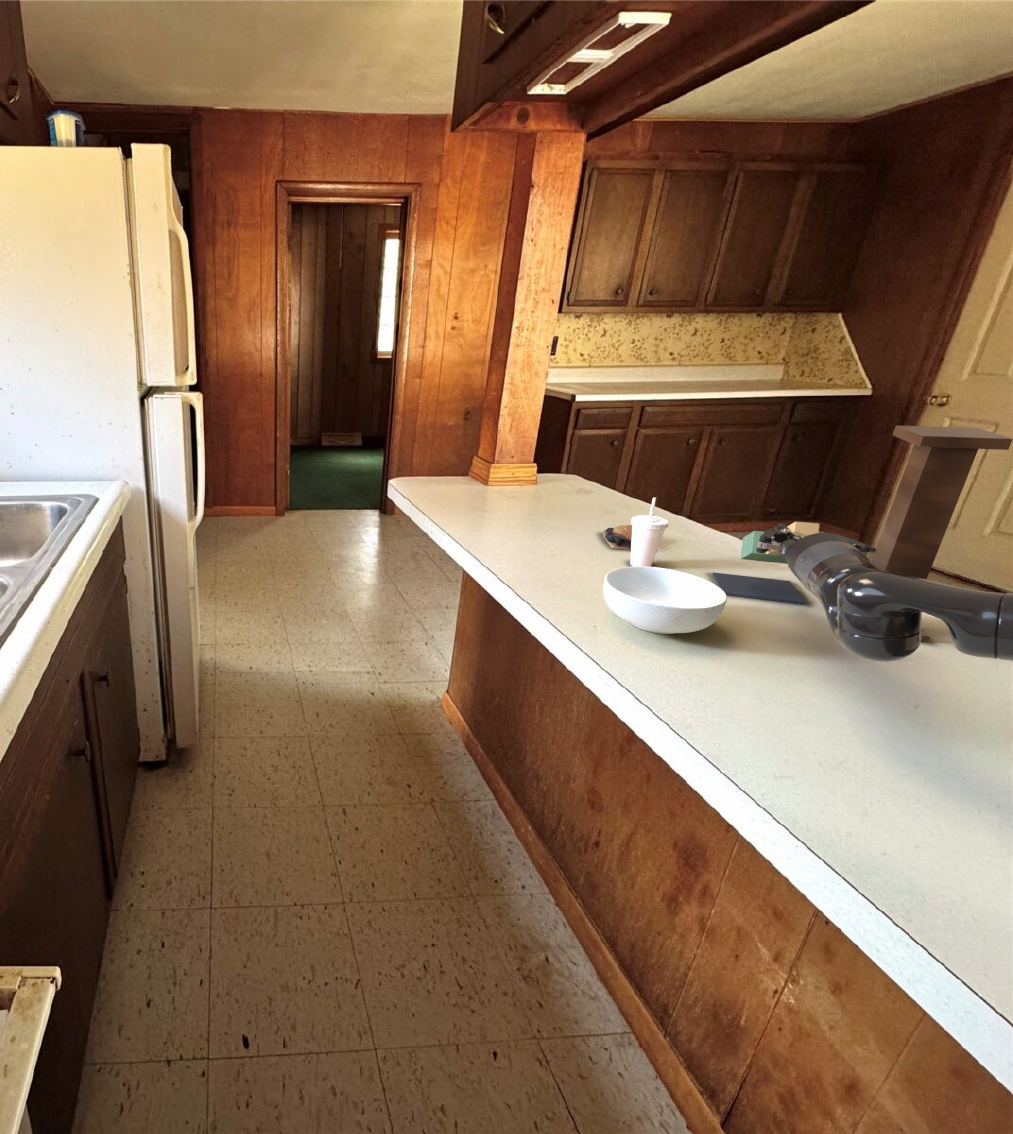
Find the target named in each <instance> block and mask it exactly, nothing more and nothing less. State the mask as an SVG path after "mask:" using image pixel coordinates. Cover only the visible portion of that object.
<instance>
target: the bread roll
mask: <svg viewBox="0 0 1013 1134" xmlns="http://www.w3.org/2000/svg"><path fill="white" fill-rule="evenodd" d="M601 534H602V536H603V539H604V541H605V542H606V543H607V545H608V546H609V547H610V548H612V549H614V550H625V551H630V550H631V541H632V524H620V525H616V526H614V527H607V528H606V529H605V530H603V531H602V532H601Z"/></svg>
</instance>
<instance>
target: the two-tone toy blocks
mask: <svg viewBox="0 0 1013 1134" xmlns="http://www.w3.org/2000/svg"><path fill="white" fill-rule="evenodd" d="M786 526H787V527H788V528H789V529H790V530H791V531H797V532H800V533H802V534H803V535H805V536H808V535H811V534H815V533H819V531H820V526H821V525H820V522H819V523H818V522H806V521H805V522H804V521H793V523H791V524H789V525H786ZM765 532H766V531H761V530H760V531H759V530H753V531H752V532H750V533H749V534H747V535H745V536H744V537H743V538H742V542H741V552H740V560H745V561H755V562H766V563H777V564H786V565H788V564H787V561H786V558H785V557H783V556H780V555H779V554H778V551H774V550H771V552H768V551H767V552H766V553H758V552H756V549H757V546H758V542H759V539H760V536H761V535H762V534H763V533H765Z"/></svg>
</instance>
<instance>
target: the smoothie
mask: <svg viewBox="0 0 1013 1134" xmlns="http://www.w3.org/2000/svg"><path fill="white" fill-rule="evenodd" d="M656 502H657V497H653V498H652V500H651V506H650V510H649V514H638V515H634V516H632V518H631V521H630V525H632V541H631V549H630V561H629V562H630V563H629V564H630V565H631V566H648V567H653V566H652V565H653V563H654V560H655V557H656V555H657V552H658V550H659V547H660V544H661V542H662V539H663V537H664V534H665V531H666V529H667V528H669V523H670V522H669V520H668V519H666V518H663V517H660V516H655V515H654V511H655V507H656Z"/></svg>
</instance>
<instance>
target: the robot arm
mask: <svg viewBox="0 0 1013 1134" xmlns="http://www.w3.org/2000/svg"><path fill="white" fill-rule="evenodd" d="M787 526H788V525H786V523H778V524H777V525H775V526H774V527H773V528H768V529H767V530H765V531H764V532H765V533H763V534H762V535H761V536H760V539H759V542H758V546H757V549H756V552H758V553H766V552H767V551H768V552H771V550H774V551H778V554H779V555H780V556H783V557H785V558H786V561H787V564H786V565H787V566H788V568H789V570H790V572H791V573H792V574H793V575H794V576H795V578H797V580H798V581H799V583H801V584H802V586H803V587H804V588H805V589H806V590H807V591H808V592H810V594H813V595H814V597H815V598H816V599H817V601H819V602H820V604H822V607H823V609H824V613H825V615H826V618H827V621H828V624H829V626H830V630H831V632H832V634H833V636H834V638H835V640H836V642H837V643H838V644H839V645H840V646H841V647H842V648H844V650H846V651H847V652H849V653H850V654H852V655H854V656H856V657H859V658H861V659H864V660H867V661H871V662H877V663H878V662H880V663H889V662H896V661H900V660H904V659H907V658H908V657H910V656H912V655H913V654H914V653H915V652H916V651H917V650H918V649H919V647H920V645H921V642H922V641H921V637H922V629H923V628H922V627H923V625H922V623H923V621H922V619H923V615H922V614H923V613H924V614H927V615H929V616H932V617H934V618H936V619H939V620H940V621H942V622H943V623H944V625H946V627H947V629H948V631H949V634H950V637H951V640H952V643H953V645H954V647H955V648H956V649H957V651H959V652H960V653H962V654H964V655H967V656H970V657H971V656H972V657H977V658H985V659H993V660H1001V661H1011V662H1013V593H1009V592H1008V593H1007V592H1005V593H1004V592H992V591H991V592H990V591H983V590H976V589H972V588H966V587H961V586H958V585H957V586H956V585H951V584H947V583H942V582H938V581H934V580H929V579H927V580H926V579H922V578H918V577H914V576H910V575H906V574H902V573H897V572H891V571H882V570H878V569H877V568H876V567H875V566H874V565H873V564H872V563H871V562H872V561H871V560H870V559H869V557H870V554H871V550H872V547H873V546H871V545H870V544H866V543H863V542H860V541H858V540H855V539H853V538H850V537H847V536H845V535H843V534H840V533H837V534H836V533H832V532H824V531H821V530H819V533H815V534H811V535H808V536H805V535H803V534H802V533H800V532H797V531H791V530H790V529H789V528H788V527H787Z"/></svg>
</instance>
